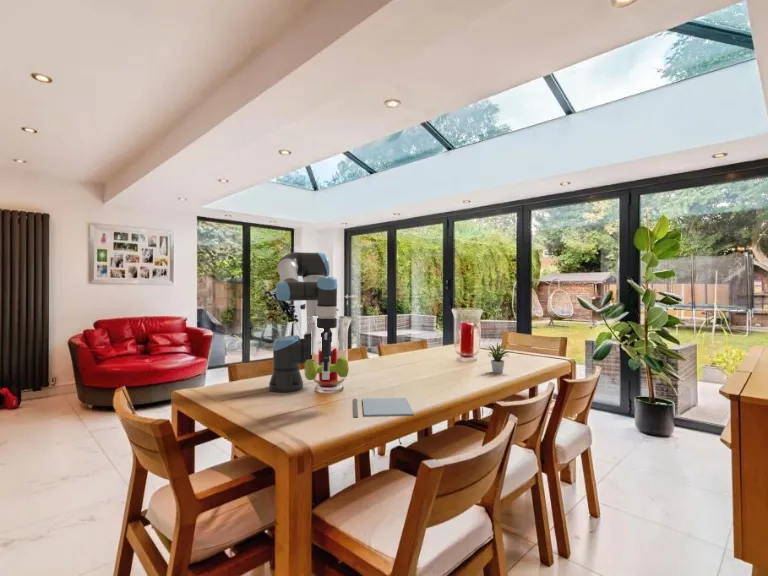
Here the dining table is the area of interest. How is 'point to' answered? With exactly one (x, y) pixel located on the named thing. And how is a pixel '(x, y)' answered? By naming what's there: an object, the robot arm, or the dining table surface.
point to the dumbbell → (339, 367)
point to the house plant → (497, 358)
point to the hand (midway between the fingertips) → (326, 376)
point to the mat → (386, 407)
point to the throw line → (355, 408)
